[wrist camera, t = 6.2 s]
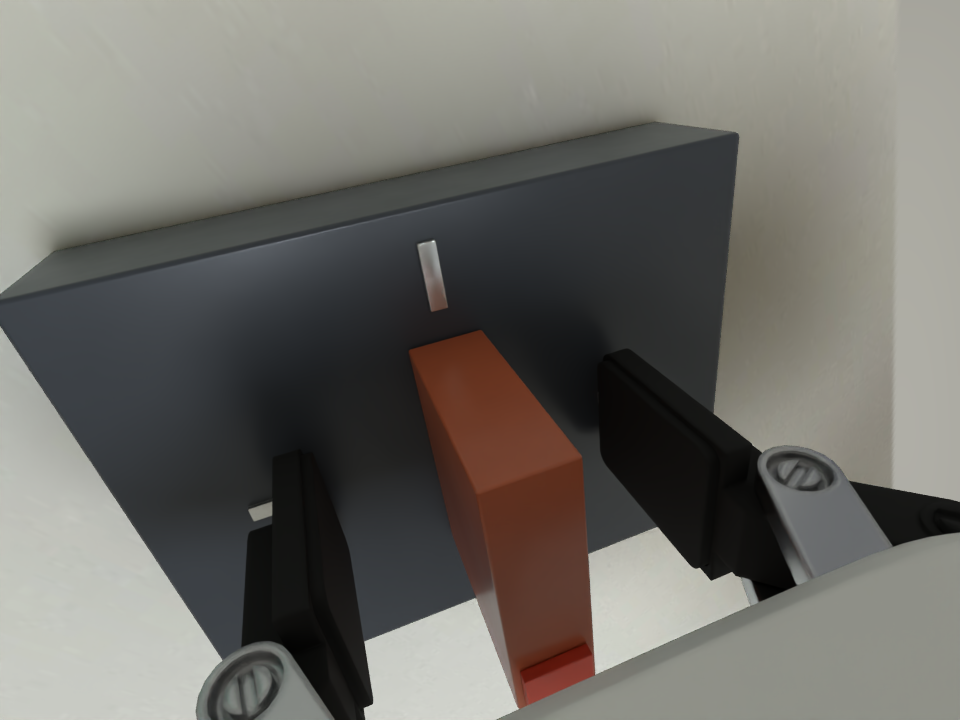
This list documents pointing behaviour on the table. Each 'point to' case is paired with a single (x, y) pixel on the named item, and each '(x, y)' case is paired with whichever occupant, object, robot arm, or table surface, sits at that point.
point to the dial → (511, 511)
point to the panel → (375, 347)
